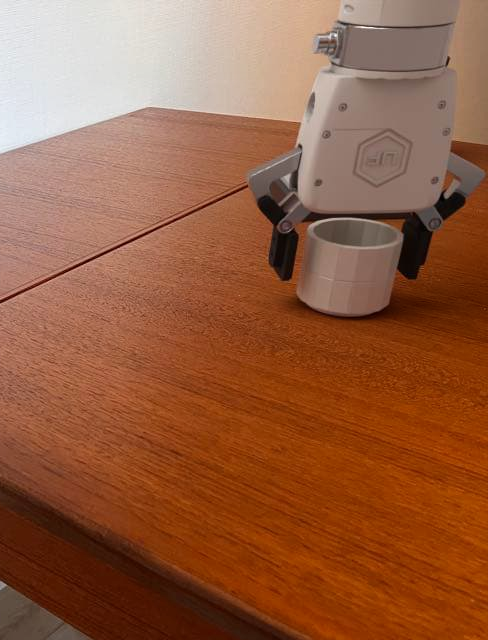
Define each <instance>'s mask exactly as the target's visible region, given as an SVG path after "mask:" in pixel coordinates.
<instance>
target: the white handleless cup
mask: <svg viewBox="0 0 488 640" xmlns="http://www.w3.org/2000/svg"><path fill="white" fill-rule="evenodd" d="M403 238H404V234H403V233H402V232H401V230H400V229H399V228H398V227H395V226H393V225H391V224H387V223H385V222H383V221H382V222H381V221H376V220H374V219H359V218H330V219H325V220H320V221H314V222H313V223H311V224H309V225H308V226H307V229H306V232H305V238H304V244H303V250H302V254H301V255H302V256H301V263H300V268H299V273H298V280H297V285H296V292H295V293H296V295H297V297H298V298H299V300H300V301H301V302H303V303H305V304H306V306H308V307H310V308H311V309H313V310H314V311H317V312H320V313H324V314H326V315H331V316H336V317H349V318H353V317H354V318H355V317H363V316H367V315H371V314H373V313H376V312H377V313H378V312H380V311H381V310H383V309H385V308H386V307H387V306H389V304H390V300H391V295H392V292H393V287H394V282H395V279H396V278H395V277H396V274H397V271H398V270H397V265H398V261H399V256H400V252H401V248H402V243H403Z"/></svg>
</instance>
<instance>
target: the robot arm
mask: <svg viewBox="0 0 488 640" xmlns="http://www.w3.org/2000/svg"><path fill="white" fill-rule="evenodd" d="M461 1H462V0H340V5H339V10H338V16H337V20H334V21H333V25H332V26H333V27H331V30H328V31H326V32H325V33H324V32H323V33H316V34H315V35H314V37H313V40H312V53H313V54H314V55H316V54H321V55H322V54H323V56H326V57H327V60H328V61H329V65H324V66H321V67H320V68H319V70H318V73H317V76H316V78H315V80H314V83H313V86H312V89H311V90H310V91H311V92H310V95H309V97H308V100H307V103H306V106H305V109H304V111H303V116H302V119H301V123H300V126H299V130H298V134H297V138H296V142H295V147H294V148H293V149H290V150H288V151H287V152H285V153H282V154H281V155H279V156H276V157H274V158H273V159H271V160H268V161H267V162H264V163H262V164H260V165H258V166H255V167H254V168H252V169H250V170H248V171H246V173H245V176H244V178H245V182H246V184H247V187H248V189H249V192H250V194H251V196H252V198H253V201H254V204H255V205H256V207H257V208H258V210H259V211H260V212H261V213H262V214H263V215H264V216H265V218H266V219H267V220H268V221H269V222H270V223H271V224H272V225H273V227H272V233H271V239H270V245H269V250H268V265H269V266H270V268H272V269H273V271H274V272H275V274H276V275H277V277H278V278H279V280H280V281H281V282H290V280H292V278H293V274H294V267H295V262H296V256H297V251H298V245H299V239H300V235H299V233H298V232H297V231H296V227H297V226H298V225H300V224H301V222H303V221H302V220H303V219H304V218H305V217H306V216H308V215H309V214H310V213H311V212H316V213H323V214H356V213H403V212H410V213H411V214H412V216H411V218H405V221H404V222H403V223H402V225H401V230H400V231H401V232H402V233H403V234H404V238H403V243H402V248H401V252H400V256H399V261H398V265H397V270H396V271H398V272H399V273H400V274H401V275H402V276H403V277H404V278H405V279H407V280H410V281H411V280H414V281H415V280H417V279H418V275H419V272H420V268H421V266H424V265H425V263H426V261H427V257H428V253H429V250H430V245H431V242H432V238H433V234H434V232H437V231H439V230H440V229H441V228H442V227H443V225H444V221H446V220H447V219H448V218H450V217H451V216H452V215H454V214H455V213H456V212H458V211H459V210H461V209H462V208H463V207H464V206H465V204H466V201H467V198H468V197H470V196H471V195H472V194H473V192H474V191H475V190H476V189H477V188H478V186H480V184H481V183H482V182H483V180H484V179H485V178H486V172H485V170H484V169H482V168H480V167H479V166H477V165H475V164H474V163H472V162H470V161H468V160H466V159H465V158H462V157H460V156H459V155H458V154H455V153H454V152H451V148H452V140H453V136H454V135H453V133H454V126H455V117H456V108H457V107H456V105H457V92H458V91H457V90H458V71H457V70H456V69H454V68H452V67H448V66H447V67H445V65H446V61H447V57H448V56H449V53H450V48H451V45H452V44H451V43H452V40H453V36H454V31H455V28H456V23H457V22H456V21H457V19H458V15H459V10H460V5H461ZM447 172H448V173H449V174H451V175H453V180H452V182H450V185H449V187H448V188H445V189H443V188H444V184H445V180H446V175H447ZM288 174H290V178H289V188H290V191H291V192H290V193H289V194H288V195H287V196H286V197H285V198H284V199H283V200H282V201H281V202H280V203H279V204H277V203H276V202H275V200H274V199H273V198H272V195H271V192H270V189H269V187H270V184H271V183H272V182H273V181H275V180H277V179H280V178H282V177H284V176H286V175H288Z"/></svg>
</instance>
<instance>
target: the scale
mask: <svg viewBox="0 0 488 640" xmlns="http://www.w3.org/2000/svg"><path fill="white" fill-rule="evenodd" d="M289 178H290V174H288V175H286V176H284V177H282V178H280V179H277V180H275V181H273V182H272V183H271V184H270V187H269V189H270V192H271V195H272V198H273V199H274V200H275V202H276V203H277V204H279V203H280V202H281V201H282V200H283V199H284V198H285V197H286V196H287V195H288V194H289V193H290V192H291V191H290V188H289ZM411 216H412V214H411V213H410V212H403V213H356V214H323V213H316V212H311V213H310V214H309V215H308V216H306V217H305V218H304V219H303V220H302V221H301V222H317V221H320V220H325V219H330V218H359V219H367V220H386V219H411Z"/></svg>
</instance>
